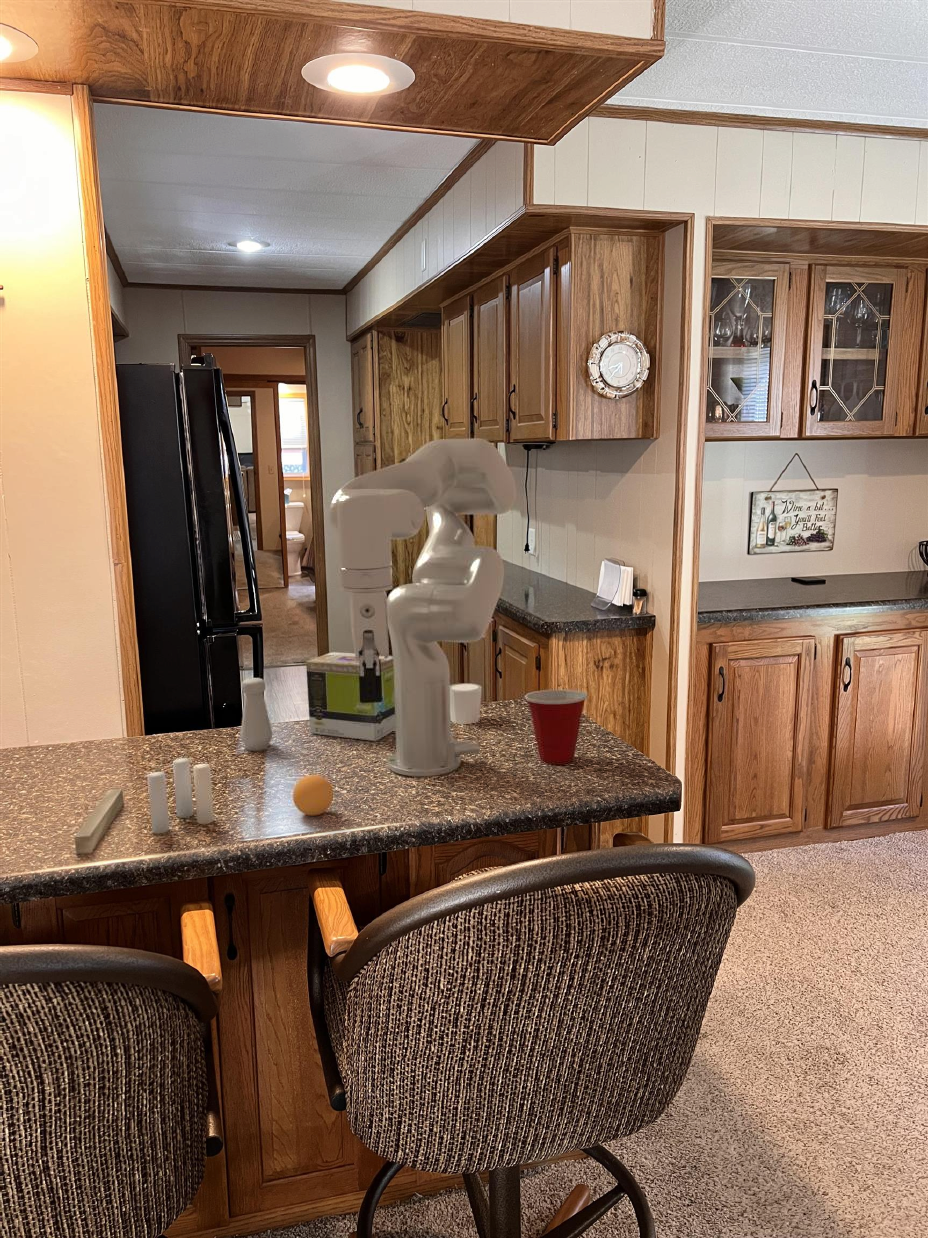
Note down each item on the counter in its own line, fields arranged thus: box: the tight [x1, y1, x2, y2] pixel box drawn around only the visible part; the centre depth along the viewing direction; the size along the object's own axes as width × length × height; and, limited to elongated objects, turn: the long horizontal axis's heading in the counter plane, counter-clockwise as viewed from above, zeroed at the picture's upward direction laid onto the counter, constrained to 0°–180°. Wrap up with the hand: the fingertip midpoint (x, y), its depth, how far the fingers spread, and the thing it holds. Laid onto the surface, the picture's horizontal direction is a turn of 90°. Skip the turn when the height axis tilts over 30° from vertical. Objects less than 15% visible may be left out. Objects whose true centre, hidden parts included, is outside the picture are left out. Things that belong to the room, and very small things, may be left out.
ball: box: [292, 774, 334, 817], centre depth 138 cm, size 6×6×6 cm
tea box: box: [305, 651, 396, 742], centre depth 178 cm, size 15×10×15 cm
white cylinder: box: [450, 682, 483, 725], centre depth 184 cm, size 7×7×7 cm
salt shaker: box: [240, 677, 273, 752], centre depth 170 cm, size 6×6×13 cm
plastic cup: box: [524, 689, 589, 765], centre depth 160 cm, size 11×11×12 cm
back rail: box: [74, 788, 125, 855], centre depth 136 cm, size 2×18×2 cm, turn 6°
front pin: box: [192, 763, 215, 825], centre depth 137 cm, size 2×2×8 cm
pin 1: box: [147, 771, 170, 835], centre depth 133 cm, size 2×2×8 cm
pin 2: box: [172, 757, 194, 819], centre depth 139 cm, size 2×2×8 cm
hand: (371, 693), depth 137 cm, fingers open, 9 cm apart
